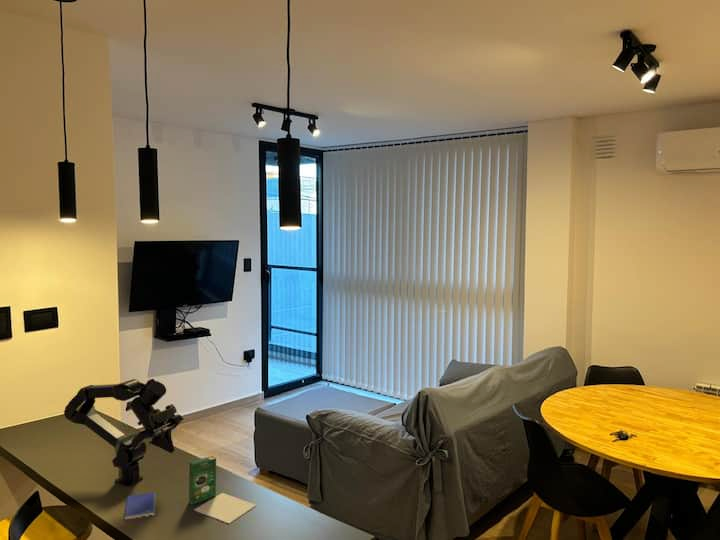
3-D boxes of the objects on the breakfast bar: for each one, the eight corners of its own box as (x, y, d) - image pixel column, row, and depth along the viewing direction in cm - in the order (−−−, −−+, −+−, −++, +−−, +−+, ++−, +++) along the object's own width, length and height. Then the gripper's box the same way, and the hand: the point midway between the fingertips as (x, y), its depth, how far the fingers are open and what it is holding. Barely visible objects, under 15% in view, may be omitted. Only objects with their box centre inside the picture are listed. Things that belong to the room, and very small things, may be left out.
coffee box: (212, 493, 178) (212, 454, 176) (216, 497, 175) (216, 457, 174) (188, 501, 172) (188, 461, 171) (192, 505, 170) (192, 464, 169)
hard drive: (154, 511, 164) (155, 492, 176) (124, 516, 162) (127, 495, 173) (154, 516, 164) (155, 496, 176) (124, 521, 162) (127, 500, 173)
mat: (194, 510, 167) (194, 509, 167) (222, 493, 178) (222, 492, 178) (229, 524, 160) (229, 523, 160) (256, 505, 171) (256, 504, 171)
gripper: (138, 408, 169) (167, 449, 166) (179, 390, 186) (206, 428, 183) (118, 428, 172) (146, 469, 169) (160, 409, 190) (186, 446, 187)
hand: (173, 452), depth 177 cm, fingers closed
